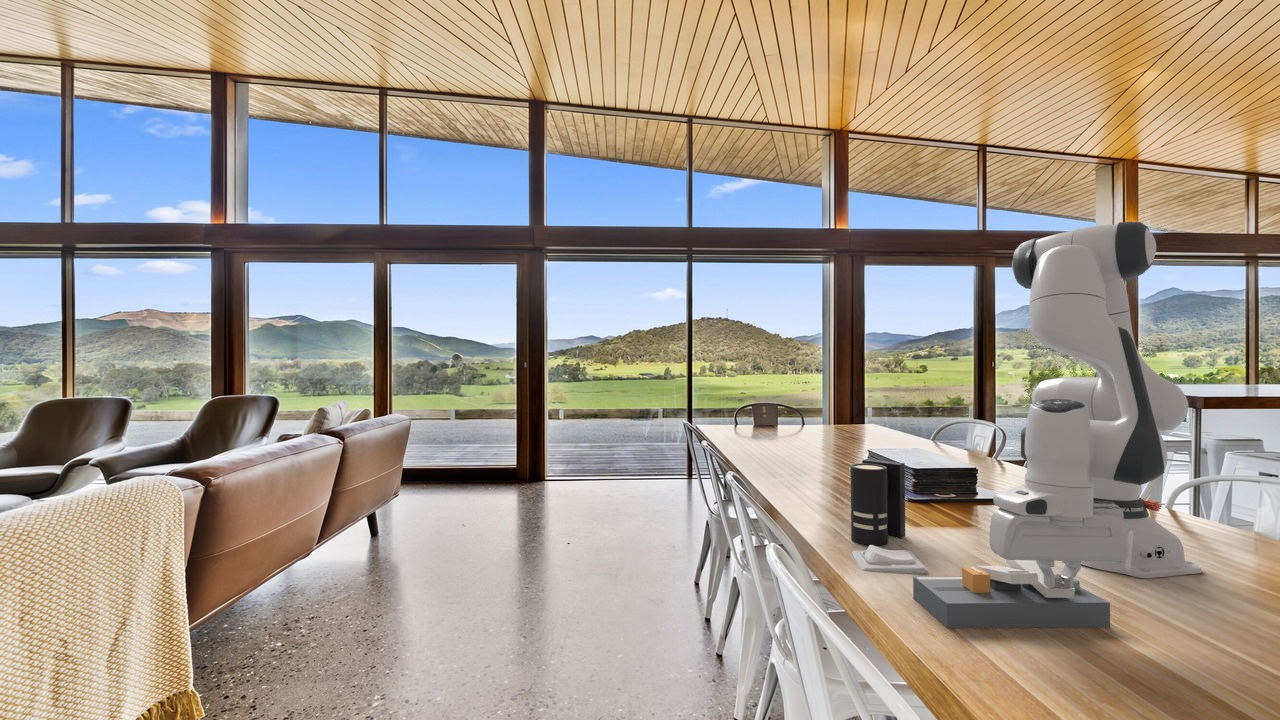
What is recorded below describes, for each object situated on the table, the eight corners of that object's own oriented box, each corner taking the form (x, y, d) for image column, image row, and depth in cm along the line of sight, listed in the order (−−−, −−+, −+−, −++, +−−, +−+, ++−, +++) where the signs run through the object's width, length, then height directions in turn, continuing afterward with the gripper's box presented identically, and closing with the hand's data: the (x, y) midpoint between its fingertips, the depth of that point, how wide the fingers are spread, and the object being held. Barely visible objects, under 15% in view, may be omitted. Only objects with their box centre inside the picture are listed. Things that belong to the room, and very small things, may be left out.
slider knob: (978, 584, 95) (978, 565, 95) (990, 592, 92) (989, 573, 92) (962, 584, 95) (961, 566, 95) (973, 592, 92) (973, 573, 92)
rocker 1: (1000, 575, 98) (998, 564, 98) (1038, 583, 88) (1036, 572, 89) (975, 575, 98) (973, 564, 98) (1011, 583, 88) (1009, 572, 89)
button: (1069, 584, 95) (1069, 576, 95) (1084, 592, 91) (1084, 583, 91) (1051, 584, 95) (1051, 576, 95) (1065, 592, 92) (1065, 583, 92)
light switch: (849, 539, 123) (910, 539, 121) (851, 558, 123) (912, 557, 121) (860, 556, 112) (927, 556, 110) (861, 577, 112) (929, 577, 110)
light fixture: (841, 540, 131) (841, 465, 131) (866, 527, 141) (866, 458, 141) (883, 550, 124) (882, 471, 124) (906, 536, 133) (905, 463, 134)
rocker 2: (1030, 562, 98) (1032, 553, 98) (1073, 597, 88) (1075, 587, 88) (1006, 562, 98) (1007, 553, 98) (1046, 597, 88) (1047, 588, 88)
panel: (1058, 597, 99) (1058, 570, 99) (1110, 627, 88) (1109, 596, 88) (913, 598, 99) (913, 570, 99) (947, 628, 88) (946, 597, 88)
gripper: (1105, 497, 92) (1106, 580, 91) (983, 495, 91) (983, 578, 91) (1140, 506, 85) (1140, 596, 85) (1009, 504, 85) (1009, 593, 85)
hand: (1058, 587), depth 88 cm, fingers closed
